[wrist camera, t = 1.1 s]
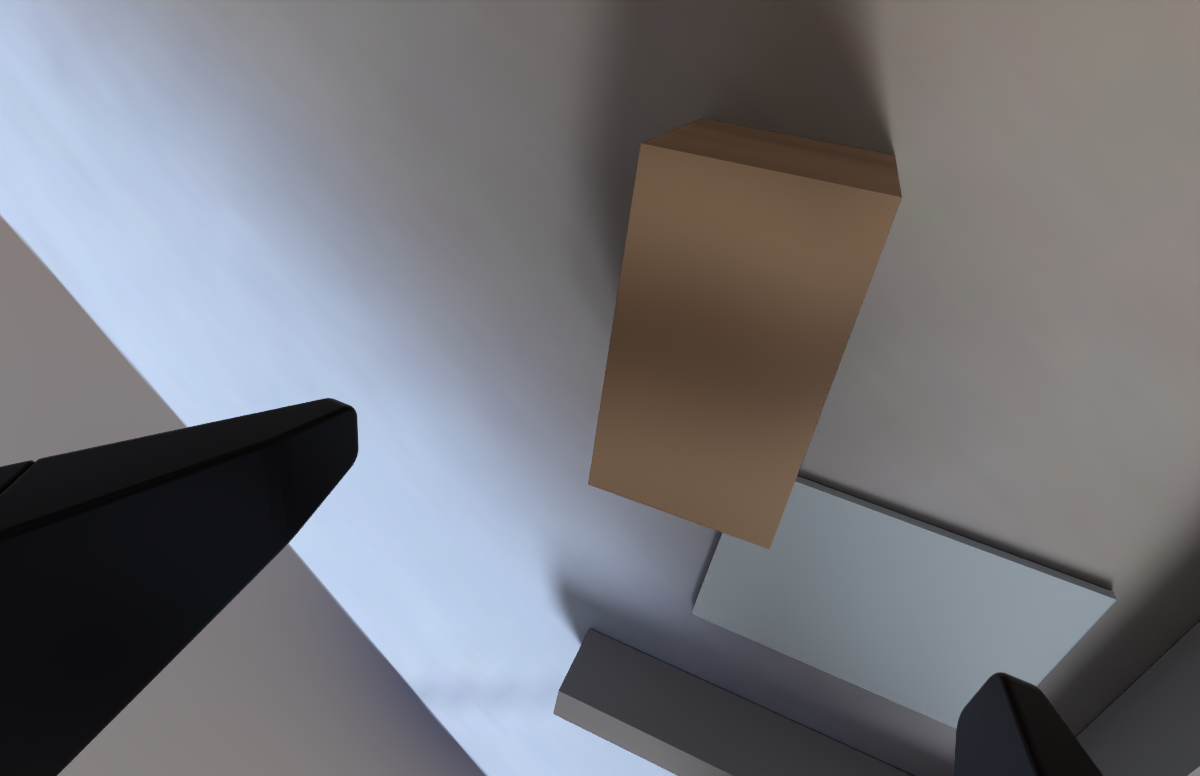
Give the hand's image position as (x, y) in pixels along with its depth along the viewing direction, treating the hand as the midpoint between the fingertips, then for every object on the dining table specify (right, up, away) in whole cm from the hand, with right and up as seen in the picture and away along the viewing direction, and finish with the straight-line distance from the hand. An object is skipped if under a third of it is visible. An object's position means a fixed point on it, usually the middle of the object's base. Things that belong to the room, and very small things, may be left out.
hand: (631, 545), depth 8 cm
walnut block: (+4, +5, +8) cm, 10 cm away
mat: (+8, -5, +11) cm, 15 cm away
